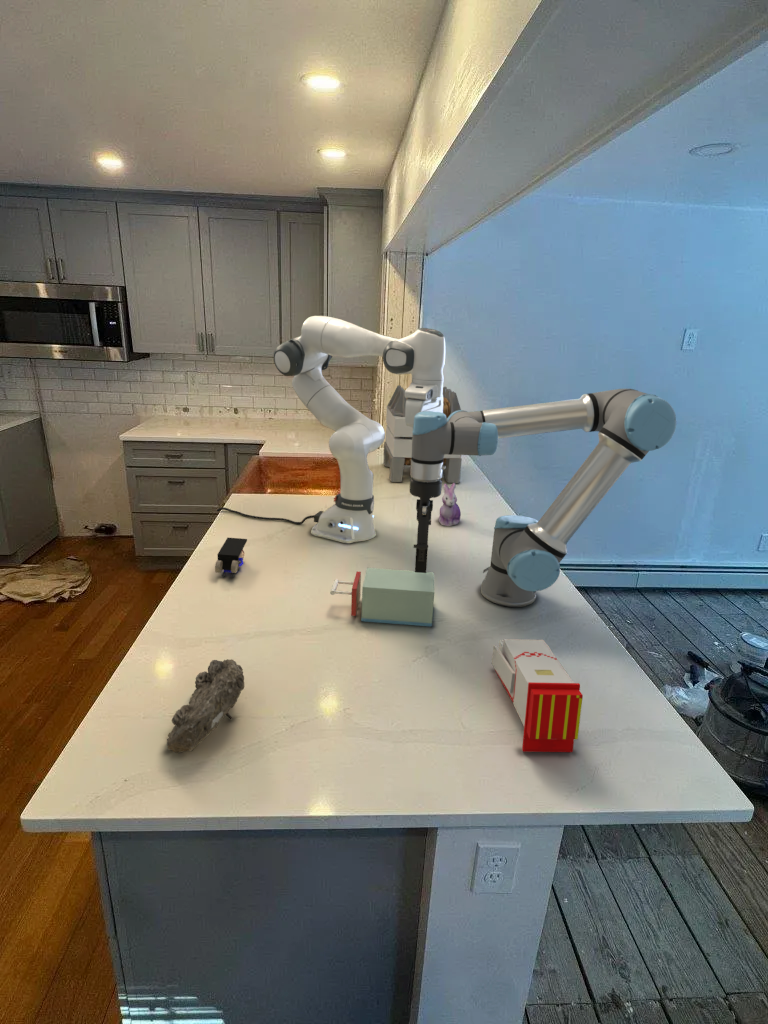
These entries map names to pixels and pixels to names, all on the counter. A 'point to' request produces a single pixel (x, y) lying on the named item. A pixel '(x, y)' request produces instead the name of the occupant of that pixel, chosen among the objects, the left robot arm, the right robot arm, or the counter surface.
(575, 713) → the toy
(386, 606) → the cabinet
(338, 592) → the drawer
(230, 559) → the figurine character
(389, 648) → the counter surface
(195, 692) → the fossil
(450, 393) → the transformer
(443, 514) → the figurine
